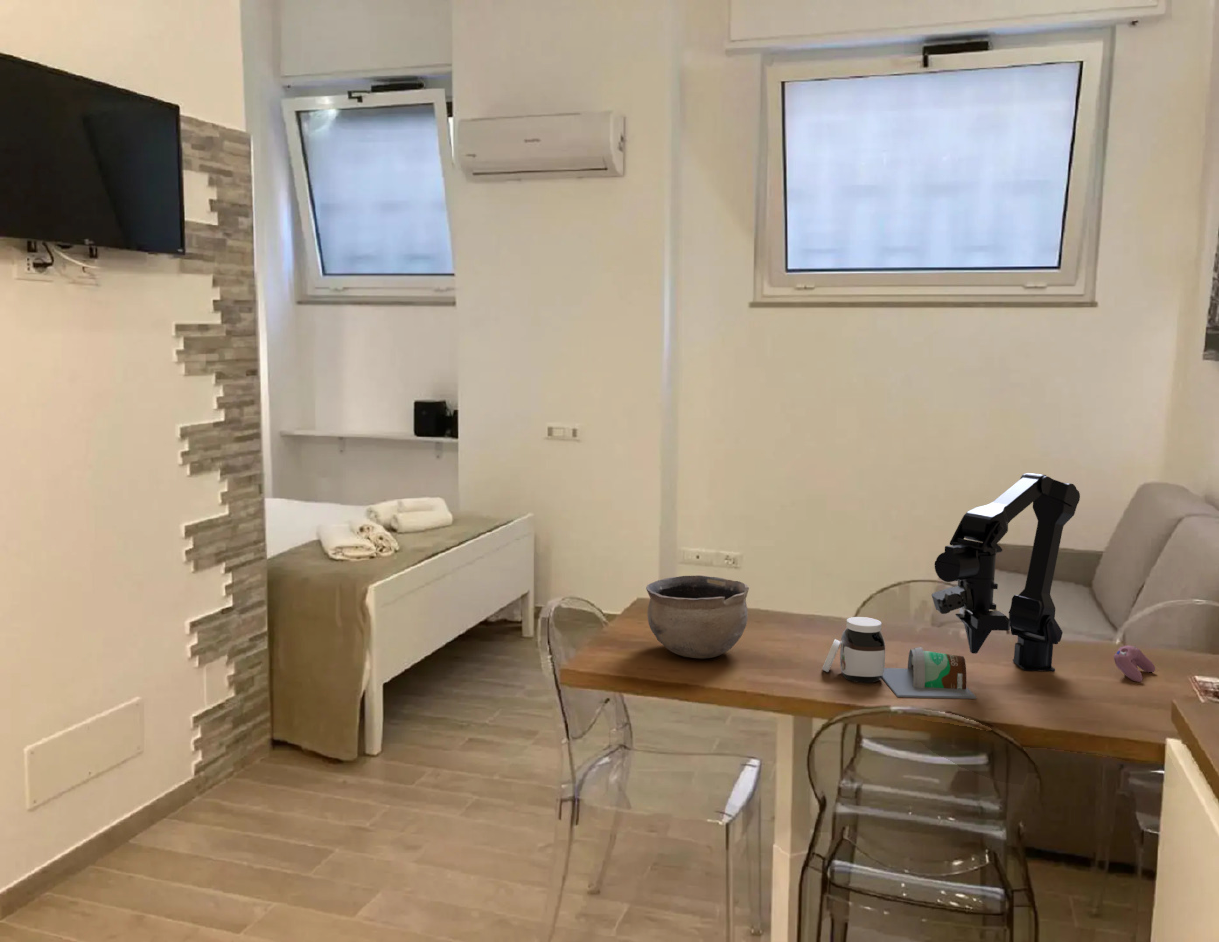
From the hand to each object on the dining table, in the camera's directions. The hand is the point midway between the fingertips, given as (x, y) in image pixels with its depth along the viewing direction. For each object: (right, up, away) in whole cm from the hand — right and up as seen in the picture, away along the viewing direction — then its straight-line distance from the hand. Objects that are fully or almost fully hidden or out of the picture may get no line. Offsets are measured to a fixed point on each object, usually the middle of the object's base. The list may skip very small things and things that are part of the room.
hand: (973, 652), depth 193 cm
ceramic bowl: (-54, -4, +18) cm, 57 cm away
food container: (-1, -3, +1) cm, 3 cm away
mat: (-10, -6, +1) cm, 12 cm away
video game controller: (+36, -6, +9) cm, 38 cm away
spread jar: (-23, -6, +5) cm, 24 cm away
